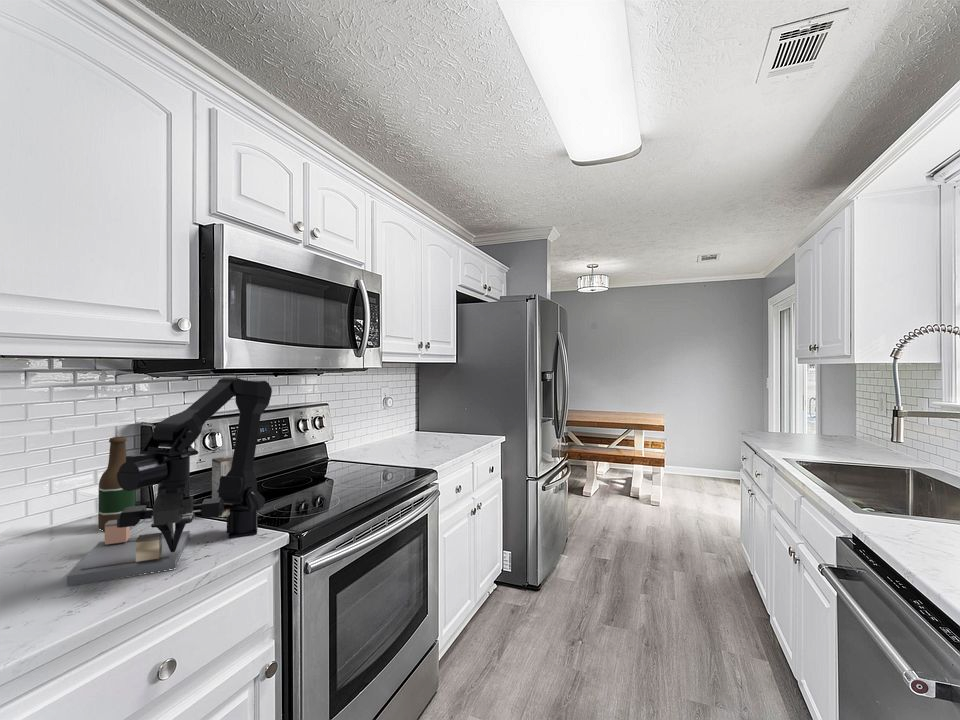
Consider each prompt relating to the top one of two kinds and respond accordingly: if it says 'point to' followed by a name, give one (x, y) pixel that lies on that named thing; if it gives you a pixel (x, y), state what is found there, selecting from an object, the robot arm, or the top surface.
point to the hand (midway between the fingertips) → (173, 551)
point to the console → (123, 561)
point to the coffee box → (220, 469)
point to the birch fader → (148, 547)
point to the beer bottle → (113, 485)
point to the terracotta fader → (115, 533)
